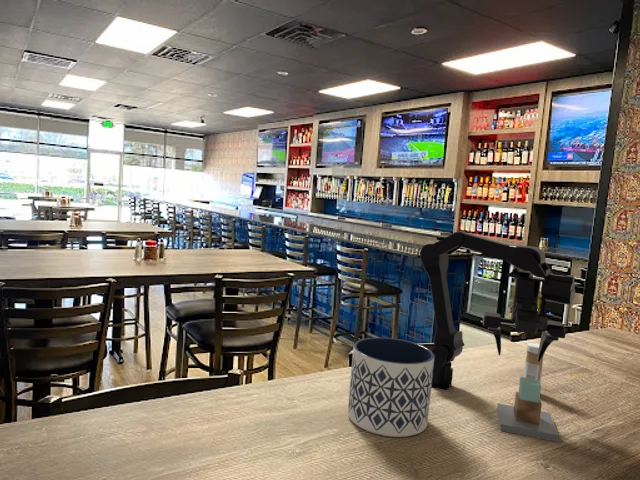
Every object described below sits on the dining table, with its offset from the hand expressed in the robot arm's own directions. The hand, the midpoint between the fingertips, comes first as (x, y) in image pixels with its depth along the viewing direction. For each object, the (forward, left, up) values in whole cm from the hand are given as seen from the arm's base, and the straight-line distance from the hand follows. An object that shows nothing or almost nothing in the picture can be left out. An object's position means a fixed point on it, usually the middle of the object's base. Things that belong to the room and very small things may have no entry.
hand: (518, 357), depth 121 cm
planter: (-29, -21, -13) cm, 38 cm away
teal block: (+2, -9, -6) cm, 11 cm away
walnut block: (+2, -9, -12) cm, 15 cm away
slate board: (+2, -9, -13) cm, 16 cm away
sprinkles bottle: (+6, +14, -13) cm, 20 cm away
